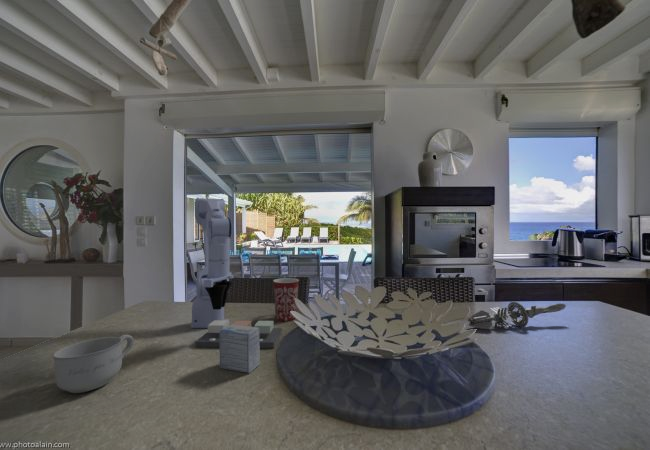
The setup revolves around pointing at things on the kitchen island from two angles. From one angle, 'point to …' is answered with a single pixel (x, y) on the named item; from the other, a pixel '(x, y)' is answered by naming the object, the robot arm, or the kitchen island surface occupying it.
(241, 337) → the grey layered block
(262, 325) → the sage key
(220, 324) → the ivory key
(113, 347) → the teacup
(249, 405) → the kitchen island surface
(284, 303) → the mug
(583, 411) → the kitchen island surface
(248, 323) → the terracotta key
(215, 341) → the keypad
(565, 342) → the kitchen island surface
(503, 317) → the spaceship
